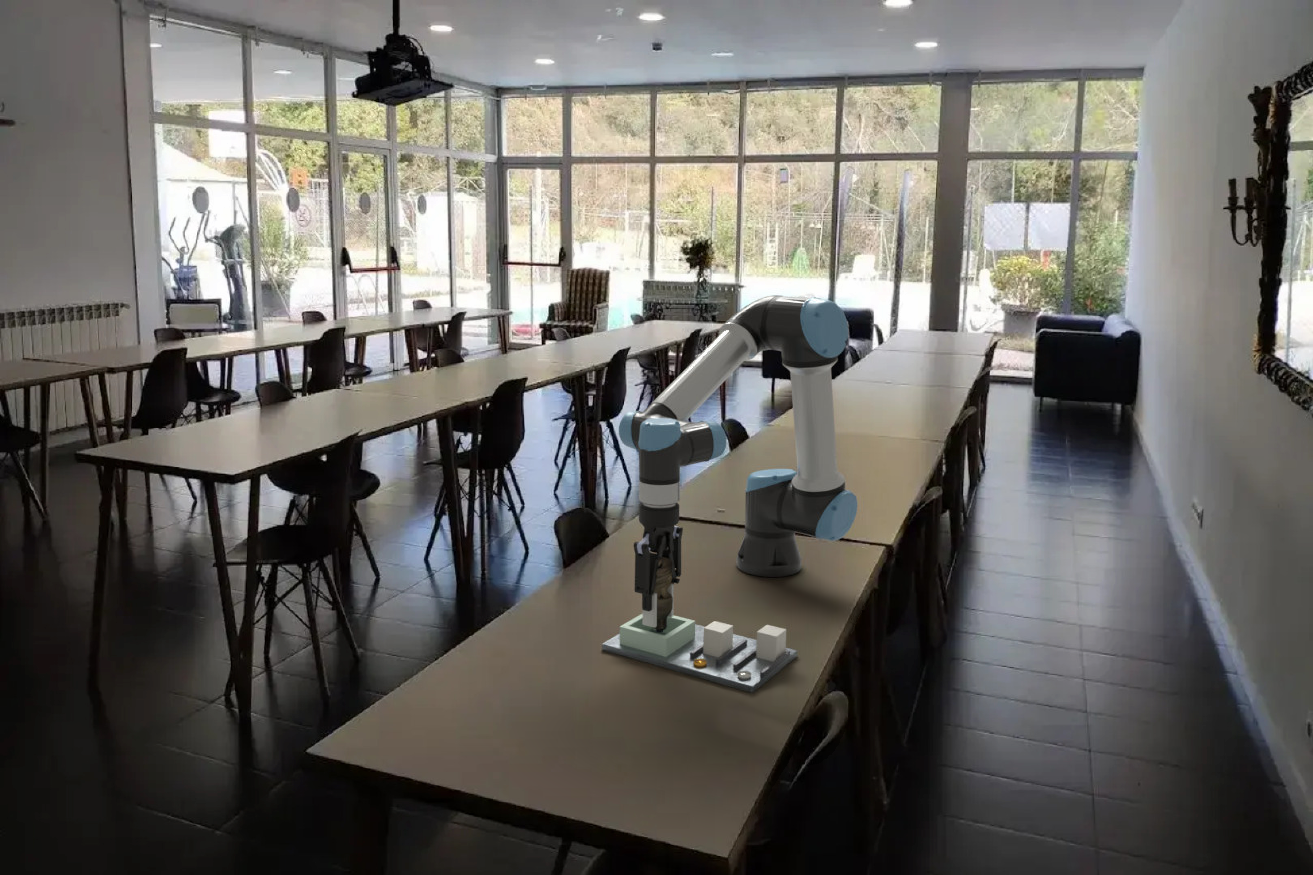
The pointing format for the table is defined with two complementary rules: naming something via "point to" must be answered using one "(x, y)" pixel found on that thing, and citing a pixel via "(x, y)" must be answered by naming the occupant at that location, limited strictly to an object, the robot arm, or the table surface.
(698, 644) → the panel
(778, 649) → the block
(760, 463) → the table surface
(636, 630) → the socket
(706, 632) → the block
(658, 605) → the light bulb
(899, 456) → the table surface
